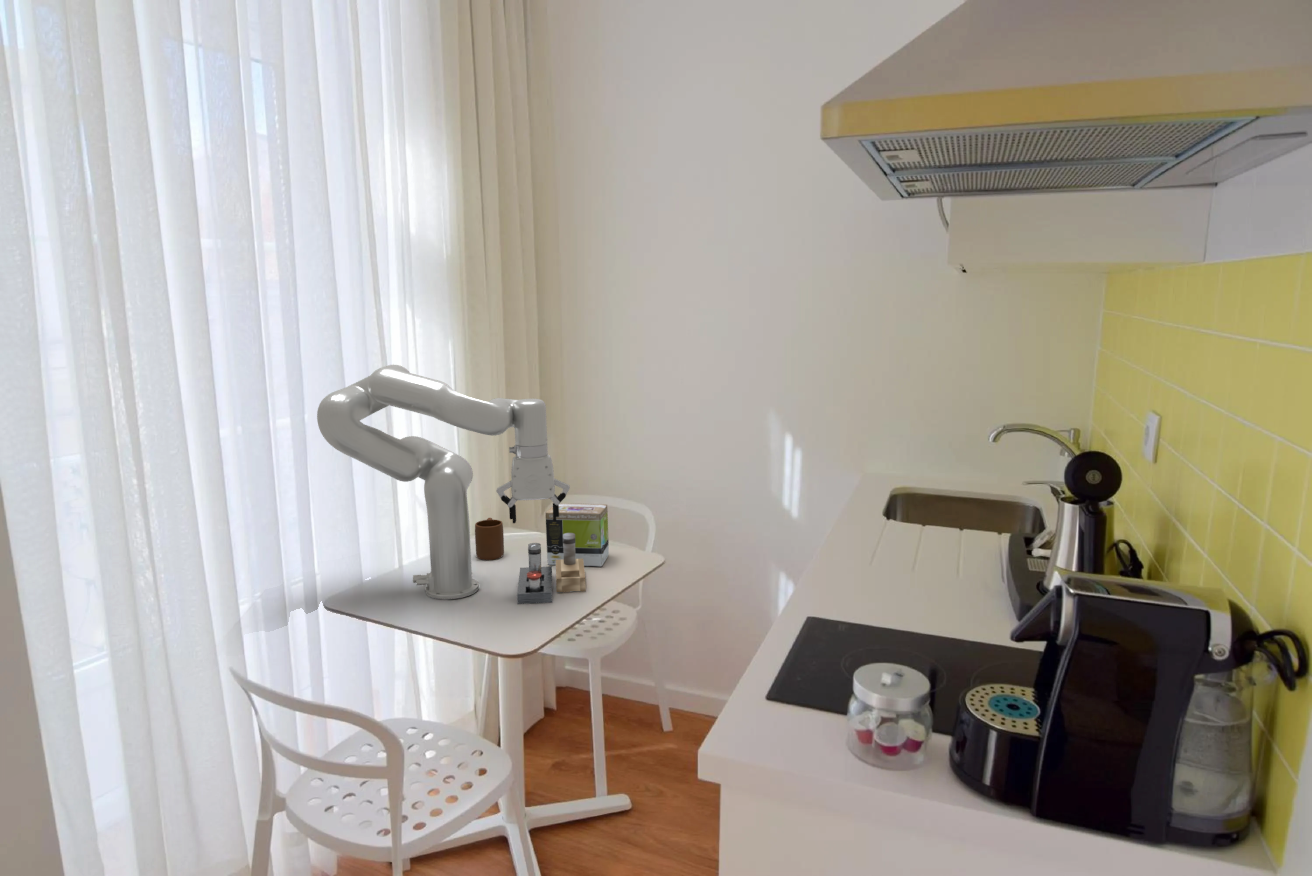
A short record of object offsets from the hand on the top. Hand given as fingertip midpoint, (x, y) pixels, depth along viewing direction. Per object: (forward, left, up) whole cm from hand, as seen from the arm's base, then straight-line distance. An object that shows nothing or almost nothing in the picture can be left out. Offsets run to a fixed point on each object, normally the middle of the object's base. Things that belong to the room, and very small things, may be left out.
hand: (534, 520), depth 189 cm
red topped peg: (0, -8, -16) cm, 17 cm away
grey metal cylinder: (0, 0, -17) cm, 17 cm away
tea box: (+11, +19, -17) cm, 28 cm away
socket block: (0, -1, -17) cm, 17 cm away
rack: (+8, +3, -17) cm, 19 cm away
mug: (-13, +28, -17) cm, 35 cm away
